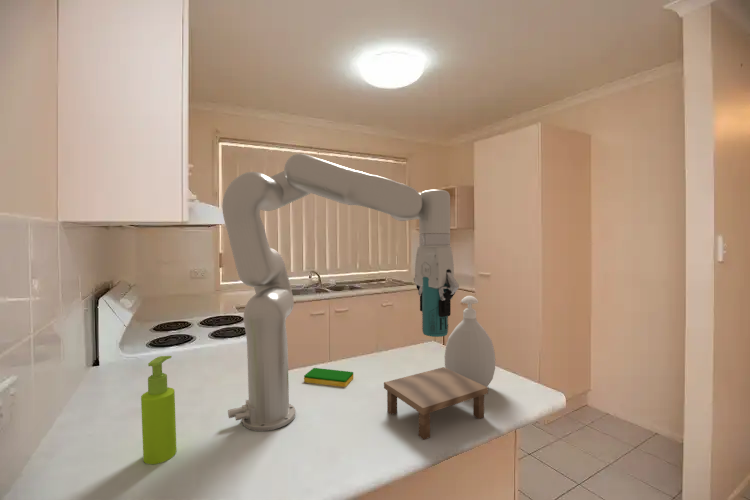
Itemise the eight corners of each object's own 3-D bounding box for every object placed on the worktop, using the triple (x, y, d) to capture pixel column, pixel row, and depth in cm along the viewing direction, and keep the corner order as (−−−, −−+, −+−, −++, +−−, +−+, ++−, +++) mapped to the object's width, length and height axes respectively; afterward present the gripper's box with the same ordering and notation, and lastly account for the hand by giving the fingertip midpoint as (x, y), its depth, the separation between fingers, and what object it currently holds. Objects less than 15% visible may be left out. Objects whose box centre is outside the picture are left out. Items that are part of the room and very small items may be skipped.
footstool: (423, 441, 79) (423, 408, 78) (384, 411, 92) (383, 382, 92) (487, 417, 89) (487, 387, 88) (443, 393, 103) (443, 367, 102)
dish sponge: (314, 374, 118) (313, 367, 118) (353, 379, 114) (353, 371, 114) (303, 383, 111) (303, 375, 111) (345, 388, 107) (345, 380, 107)
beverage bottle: (441, 344, 85) (441, 260, 84) (416, 340, 89) (416, 259, 88) (452, 338, 90) (453, 258, 89) (429, 334, 94) (429, 257, 93)
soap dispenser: (184, 443, 79) (181, 353, 78) (167, 464, 72) (163, 364, 71) (156, 444, 79) (153, 353, 78) (136, 464, 72) (133, 365, 71)
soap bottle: (493, 381, 110) (494, 293, 109) (496, 393, 102) (497, 298, 101) (445, 378, 113) (445, 292, 112) (444, 388, 105) (444, 297, 104)
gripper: (401, 241, 94) (402, 309, 95) (447, 241, 79) (447, 322, 80) (424, 240, 98) (424, 306, 99) (471, 241, 83) (471, 318, 84)
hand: (434, 312), depth 89 cm, fingers closed on beverage bottle, 6 cm apart
